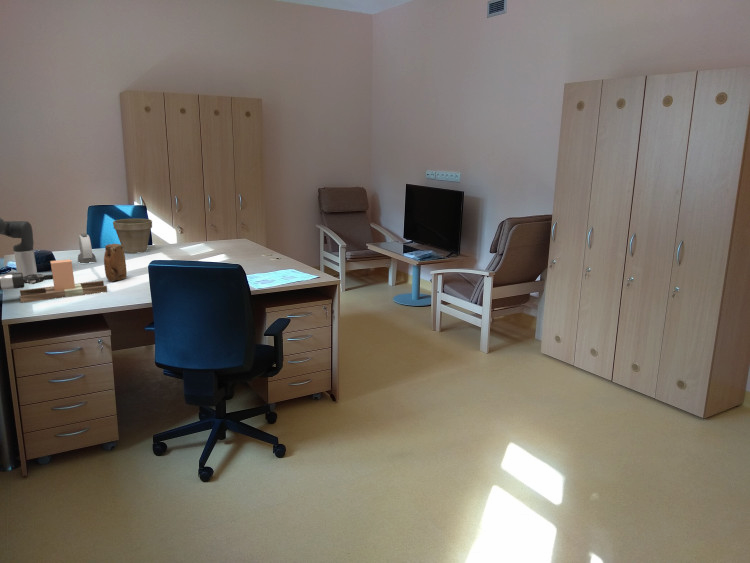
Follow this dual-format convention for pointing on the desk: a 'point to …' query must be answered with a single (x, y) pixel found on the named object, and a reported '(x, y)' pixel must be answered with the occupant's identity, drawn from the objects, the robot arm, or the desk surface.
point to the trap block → (62, 274)
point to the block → (114, 262)
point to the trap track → (61, 291)
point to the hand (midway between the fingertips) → (52, 276)
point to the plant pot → (133, 234)
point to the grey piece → (85, 250)
